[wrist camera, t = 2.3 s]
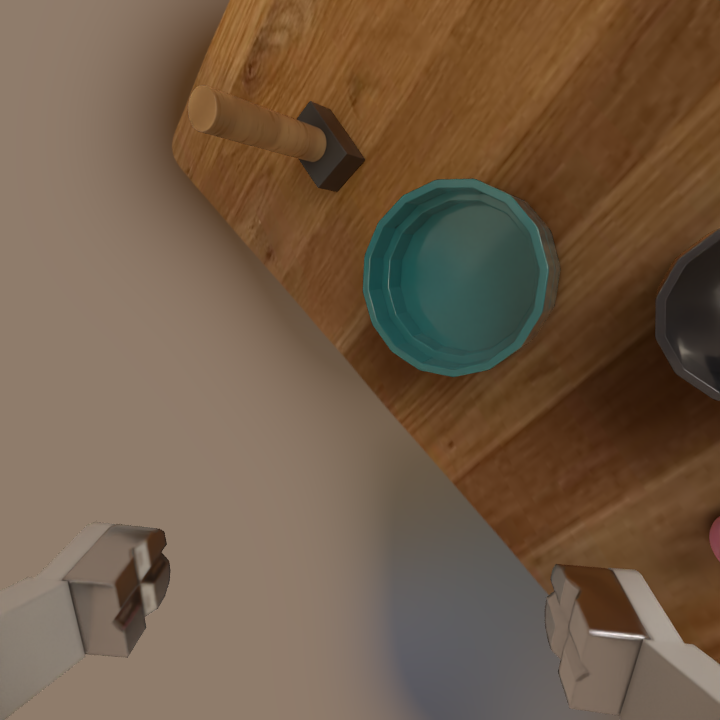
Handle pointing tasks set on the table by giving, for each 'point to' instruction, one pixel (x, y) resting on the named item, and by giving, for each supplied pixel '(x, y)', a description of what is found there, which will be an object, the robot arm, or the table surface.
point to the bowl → (459, 276)
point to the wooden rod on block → (280, 133)
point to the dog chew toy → (715, 537)
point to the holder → (692, 315)
